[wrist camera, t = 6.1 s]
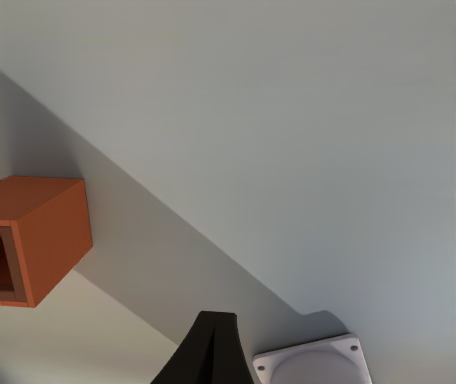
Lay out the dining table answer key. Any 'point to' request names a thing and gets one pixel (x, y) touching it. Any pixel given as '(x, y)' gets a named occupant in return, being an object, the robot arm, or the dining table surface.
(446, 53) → the dining table surface
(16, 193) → the orange open-ended box
